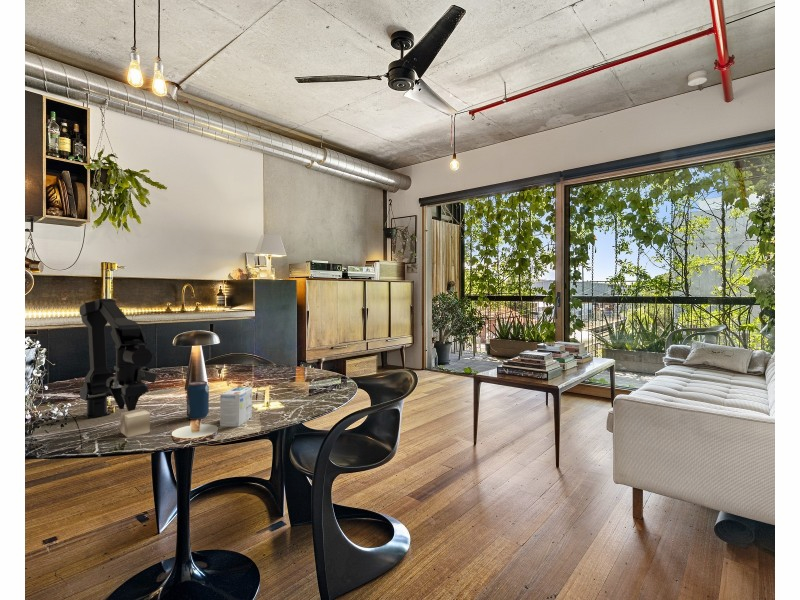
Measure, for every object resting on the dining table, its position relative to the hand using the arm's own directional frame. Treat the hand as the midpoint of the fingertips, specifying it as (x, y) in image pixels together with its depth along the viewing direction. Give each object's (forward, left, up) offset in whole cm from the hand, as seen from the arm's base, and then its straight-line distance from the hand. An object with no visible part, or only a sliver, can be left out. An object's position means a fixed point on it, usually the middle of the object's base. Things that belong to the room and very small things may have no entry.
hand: (126, 411), depth 130 cm
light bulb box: (+21, +26, -5) cm, 34 cm away
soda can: (+6, +20, -5) cm, 21 cm away
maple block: (+5, 0, -2) cm, 5 cm away
